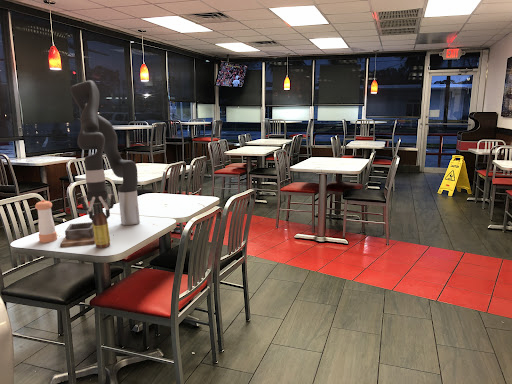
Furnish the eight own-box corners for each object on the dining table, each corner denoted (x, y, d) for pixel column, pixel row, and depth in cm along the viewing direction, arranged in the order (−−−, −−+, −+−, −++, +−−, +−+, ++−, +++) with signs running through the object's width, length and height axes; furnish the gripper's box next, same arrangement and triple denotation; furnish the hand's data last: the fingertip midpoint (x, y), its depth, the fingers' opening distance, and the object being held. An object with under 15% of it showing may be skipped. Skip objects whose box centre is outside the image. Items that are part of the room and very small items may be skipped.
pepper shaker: (52, 236, 194) (47, 197, 190) (59, 239, 190) (54, 199, 186) (36, 240, 189) (31, 200, 185) (43, 243, 184) (38, 202, 180)
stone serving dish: (99, 231, 201) (98, 220, 200) (94, 243, 182) (93, 231, 181) (69, 234, 197) (67, 223, 196) (60, 247, 178) (59, 235, 177)
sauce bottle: (101, 243, 182) (96, 200, 178) (113, 244, 180) (108, 200, 176) (91, 248, 176) (86, 203, 172) (104, 249, 174) (99, 204, 170)
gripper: (114, 177, 177) (118, 215, 181) (79, 179, 174) (83, 218, 177) (112, 180, 170) (116, 219, 174) (75, 182, 167) (80, 222, 170)
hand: (99, 218), depth 175 cm, fingers closed on sauce bottle, 5 cm apart
